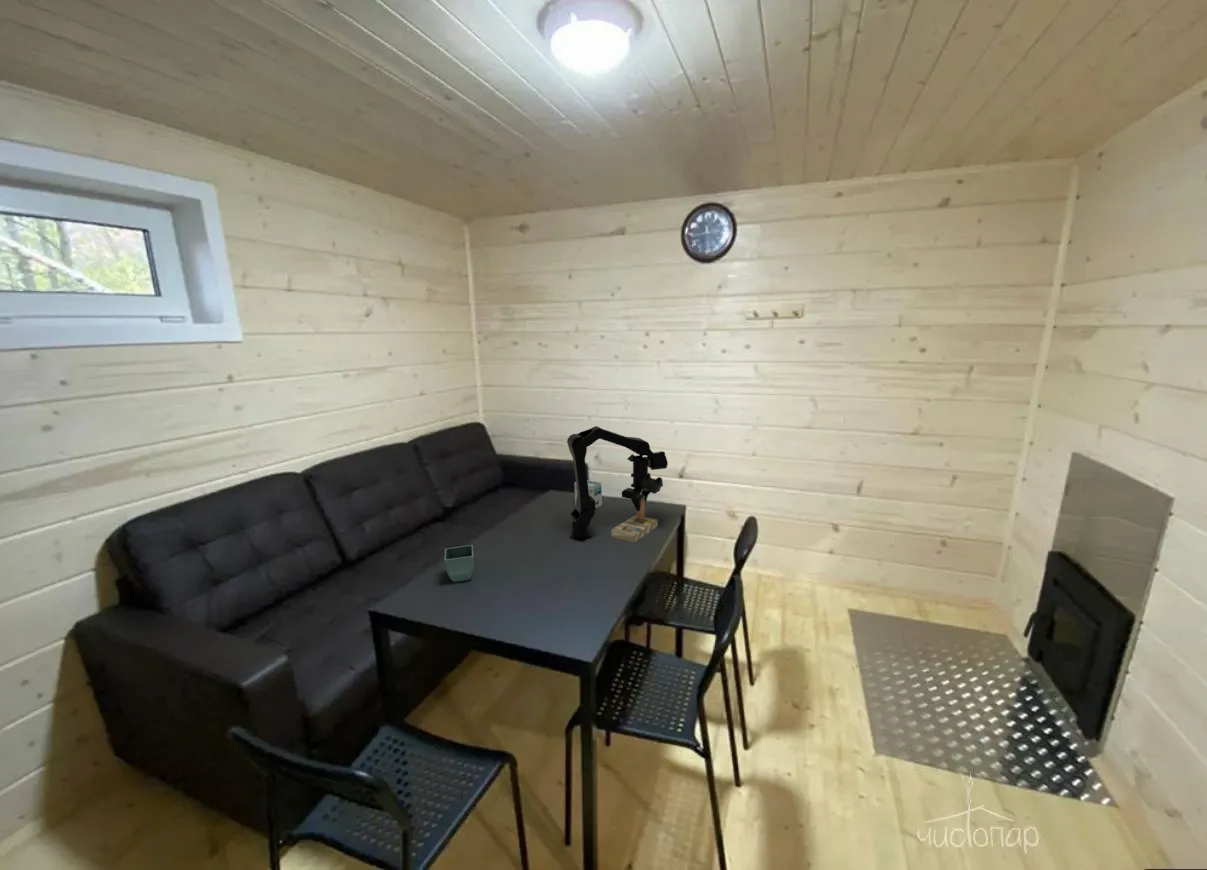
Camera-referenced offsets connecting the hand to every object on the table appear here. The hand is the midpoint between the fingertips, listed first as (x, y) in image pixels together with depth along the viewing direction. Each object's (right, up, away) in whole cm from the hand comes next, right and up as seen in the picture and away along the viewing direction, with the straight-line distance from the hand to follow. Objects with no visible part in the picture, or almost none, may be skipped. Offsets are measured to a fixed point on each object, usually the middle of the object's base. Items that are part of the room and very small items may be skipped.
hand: (640, 509), depth 199 cm
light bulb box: (-21, -2, +28) cm, 35 cm away
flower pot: (-60, -17, -35) cm, 72 cm away
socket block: (-2, -8, -2) cm, 9 cm away
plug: (0, -3, +1) cm, 3 cm away
